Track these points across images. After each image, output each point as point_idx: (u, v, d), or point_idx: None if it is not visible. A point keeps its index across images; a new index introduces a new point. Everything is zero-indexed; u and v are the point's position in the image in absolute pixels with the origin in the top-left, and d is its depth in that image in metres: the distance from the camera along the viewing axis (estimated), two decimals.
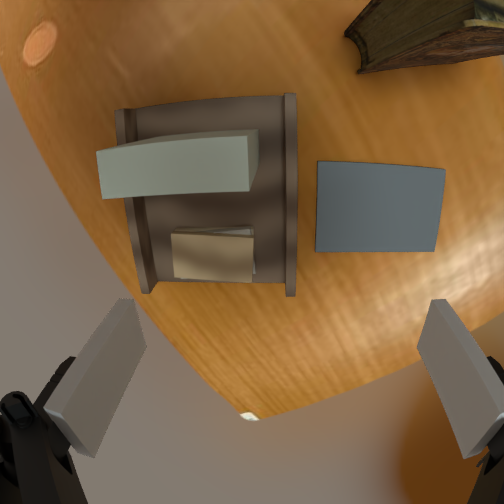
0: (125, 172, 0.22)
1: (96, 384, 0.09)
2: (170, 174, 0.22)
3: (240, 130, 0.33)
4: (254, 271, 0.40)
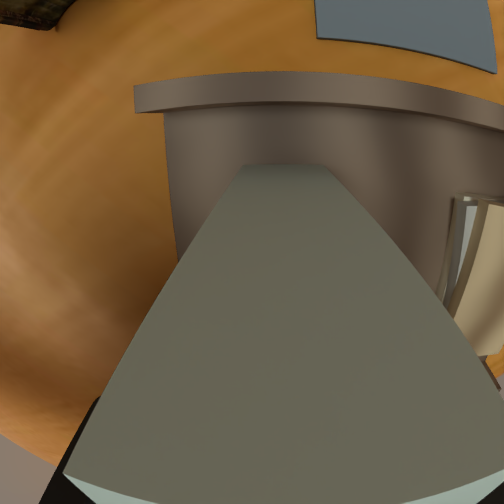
0: None
1: None
2: None
3: None
4: None
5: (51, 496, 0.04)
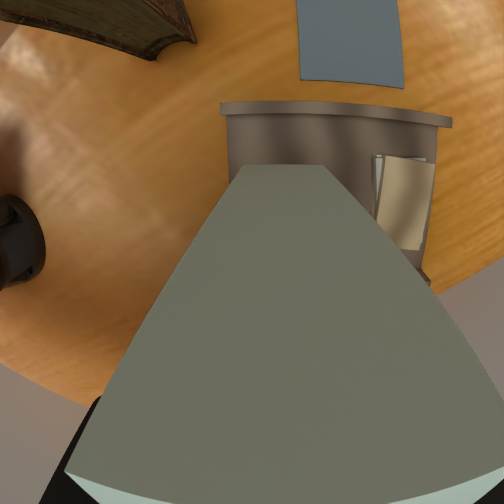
0: None
1: None
2: None
3: None
4: (423, 159, 0.29)
5: (51, 496, 0.04)
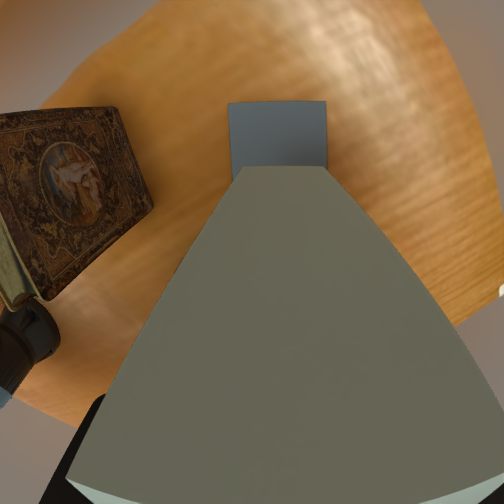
0: None
1: None
2: None
3: None
4: None
5: (51, 496, 0.04)
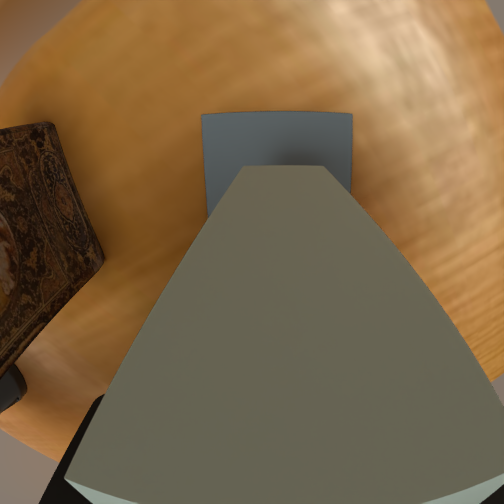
0: None
1: None
2: None
3: None
4: None
5: (51, 496, 0.04)
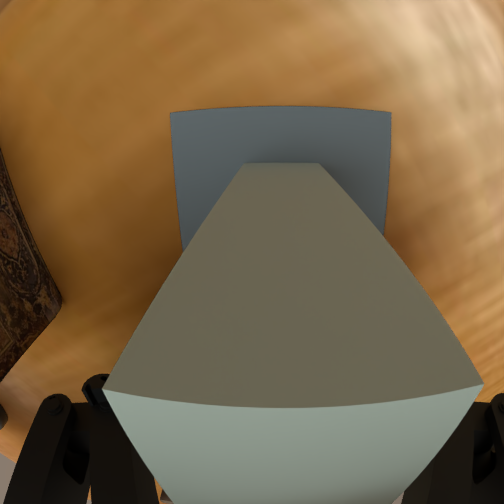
0: None
1: None
2: None
3: None
4: None
5: (13, 495, 0.04)
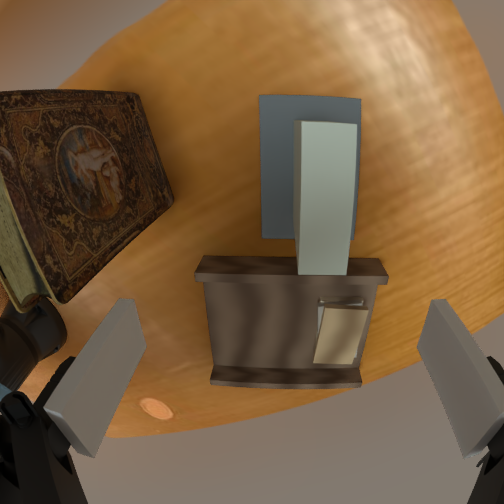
0: (324, 246, 0.24)
1: (96, 384, 0.09)
2: (333, 200, 0.22)
3: (294, 136, 0.33)
4: (359, 304, 0.40)
5: None
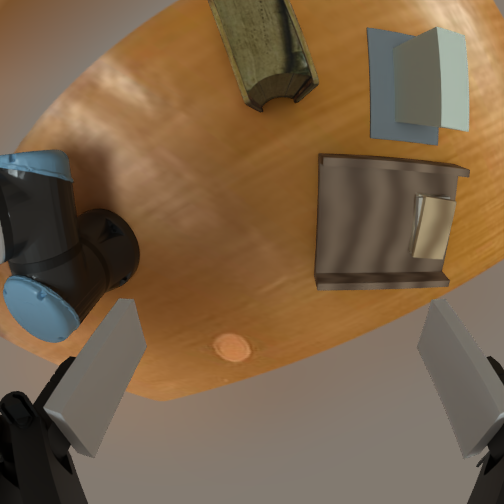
0: (455, 107, 0.26)
1: (96, 384, 0.09)
2: (458, 77, 0.24)
3: (398, 57, 0.35)
4: (448, 197, 0.42)
5: None
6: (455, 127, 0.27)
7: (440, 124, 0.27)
